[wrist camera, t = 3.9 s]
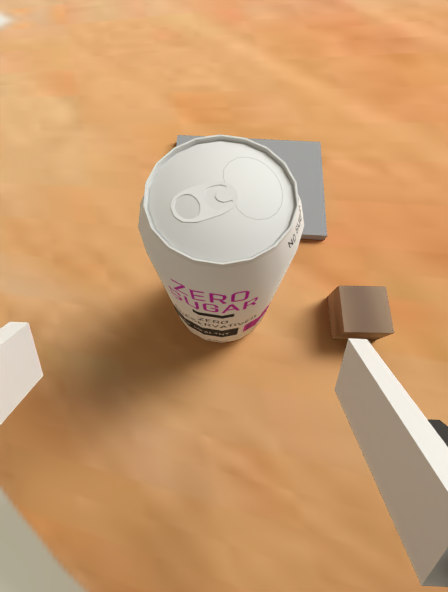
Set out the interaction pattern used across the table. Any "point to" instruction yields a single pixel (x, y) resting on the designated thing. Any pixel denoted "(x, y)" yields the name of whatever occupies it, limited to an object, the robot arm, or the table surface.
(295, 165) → the grey rubber mat
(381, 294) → the walnut block
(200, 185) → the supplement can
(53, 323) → the table surface
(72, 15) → the table surface
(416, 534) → the robot arm
